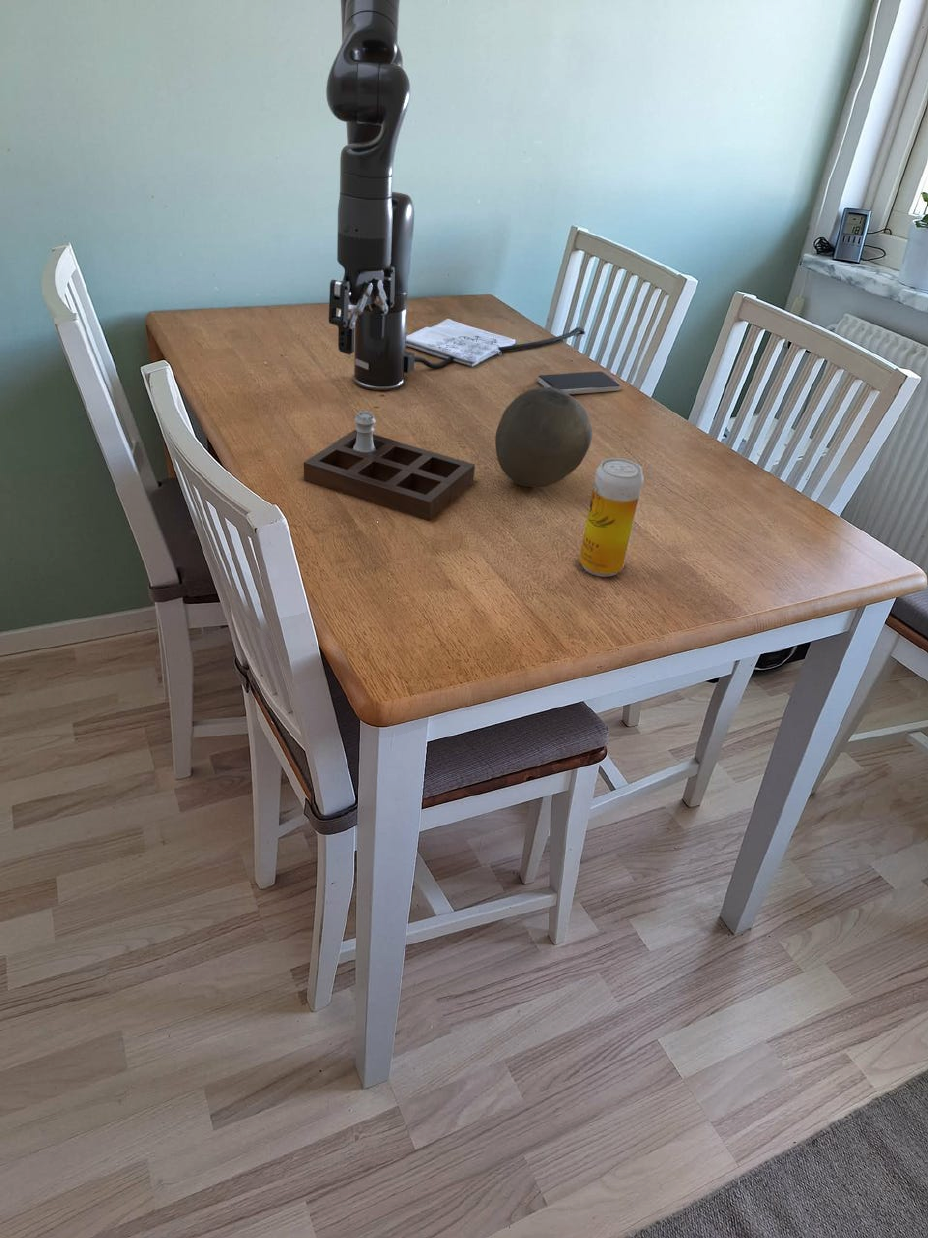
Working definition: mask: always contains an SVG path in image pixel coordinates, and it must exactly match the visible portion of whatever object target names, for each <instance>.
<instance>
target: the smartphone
mask: <svg viewBox="0 0 928 1238" xmlns="http://www.w3.org/2000/svg"><path fill="white" fill-rule="evenodd" d="M537 382H538V383H539V384H540V385H542V387H552V388H556V389H559V390H562V391H564V392H566V393H567V394H569V395H577V394H579V395H580V394H591V393H592V394H593V393H604V392H619V391H621V388H622V384H620V383H619V382H618V381H616V380H615V379H614V378H612V377H611V376H610V375H608V374H607V373H605V372H603V371H587V372H585V371H584V372H571V373H555V374H541V375H538V376H537Z"/></svg>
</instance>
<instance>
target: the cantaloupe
mask: <svg viewBox="0 0 928 1238" xmlns="http://www.w3.org/2000/svg"><path fill="white" fill-rule="evenodd" d="M494 436H495V438H494V443H495V444H494V446H495V454H496V458H497V463H498V465H499V467H500V469H501V471H502V472H503V473H504V474H505V475H506V476H507V477H508V478H509V479H510V480H512V481H513V482H514V483H516V484H518V485H519V486H522V487H527V488H543V487H548V486H551V485H553V484H556V483H559V482H560V481H562V480H564V479H565V478H566V477H568V476H569V475H571V473H573V472H575V470H577V468H578V467H579V466H580V465H581V463H582V462H583V460H584V458H585V457H586V455H587V454H588V453H587V452H589V449H590V446H591V444H592V443H591V442H592V439H593V428H592V422H591V419H590V416H589V414H588V412H587V410H586V409H585V407H584V406H583V405H582V404H581V402H579V401H578V400H577V399H576V398H575V397H574V396H572V395H571V394H567V393H566V392H564V391H562V390H559V389H556V388H552V387H544V386H541V387H536V388H531V389H528V390H526V391H523V392H522V393H520V394H519V395H518V396H517V397H516V398H515V399H513V400H512V402H511V403H510V404H509V405H508V406H507V407H506V408H505V409H504V411H503V413H502V415H501V416H500V420H499V422H498V424H497V428H496V431H495V435H494Z"/></svg>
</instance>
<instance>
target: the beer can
mask: <svg viewBox="0 0 928 1238" xmlns="http://www.w3.org/2000/svg"><path fill="white" fill-rule="evenodd" d="M643 485H644V475H643V468H642V467H641V465H640V464H639V463H637V462H635V461H632V460H630V459H627V458H621V457H610V458H605V459H604V460H602V461H601V463H600V465H599V466H598V467H597V468H596V470H595V476H594V480H593V486H592V490H591V491H592V492H591V497H590V502H589V507H588V512H587V517H586V523H585V527H584V532H583V538H582V543H581V548H580V553H579V562H580V563H581V566H582V568H583V569H584V570H585V571H586V572H587V573H589V574H591V575H593V576H597V577H603V578H606V577H613V576H615V575H617V574H618V573H619V572H621V571H622V570H623V569H624V567H625V563H626V559H627V555H628V549H629V546H630V541H631V536H632V532H633V528H634V523H635V520H636V515H637V510H638V505H639V501H640V497H641V494H642V493H641V492H642V489H643V488H642V487H643Z"/></svg>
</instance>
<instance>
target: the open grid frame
mask: <svg viewBox="0 0 928 1238" xmlns="http://www.w3.org/2000/svg"><path fill="white" fill-rule="evenodd" d="M356 438H357V430H356V428H355V429H354V430H352V431H351V432H349V433H347V434H346V435H344V436H343V437H341V438H339V439H338V440H336V441H334V443H331V444H330V445H328V446H327V447H325V448H323V449H322V450H320V451H319V452H317V453H316V454H314V455H312V456H311V457H309V458H308V459H307V460H304V461H303V480H304V481H306V482H309V483H312V484H314V485H318V486H321V487H324V488H328V489H331V490H334V491H337V492H340V493H343V494H346V495H349V496H352V497H355V498H358V499H361V500H364V501H367V502H370V503H374V504H375V505H381V506H383V507H386V508H389V509H392V510H395V511H398V512H401V513H404V514H407V515H411V516H413V517H417V518H420V519H423V520H426V521H431V519H432V518H434V517H435V516H436V515H437V514H438V513H439V512H441V511H442V510H443V509H444V508H445V507H447V506H448V504H450V503H451V502H452V501H453V500H454V499H455V498H457V497H458V496H459V495H460V494H461V493H462V492H464V491H465V490H466V489H467V488H468V487H469V486H470V485H471V484H473V483H474V478H475V477H474V476H475V467H476V464H474V463H471V462H467V461H465V460H462V459H459V458H454V457H451V456H448V455H444V454H441V453H438V452H435V451H432V450H428V449H424V448H421V447H418V446H415V445H410V444H407V443H404V442H400V441H398V440H394V439H390V438H388V437H384V436H380V435H377V434H374V433H373V443H374V446H375V449H376V451H374V452H373V453H371V454H367V453H364V452H361V451H357V450H354V449H353V447H354V445H355V443H356Z"/></svg>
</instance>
